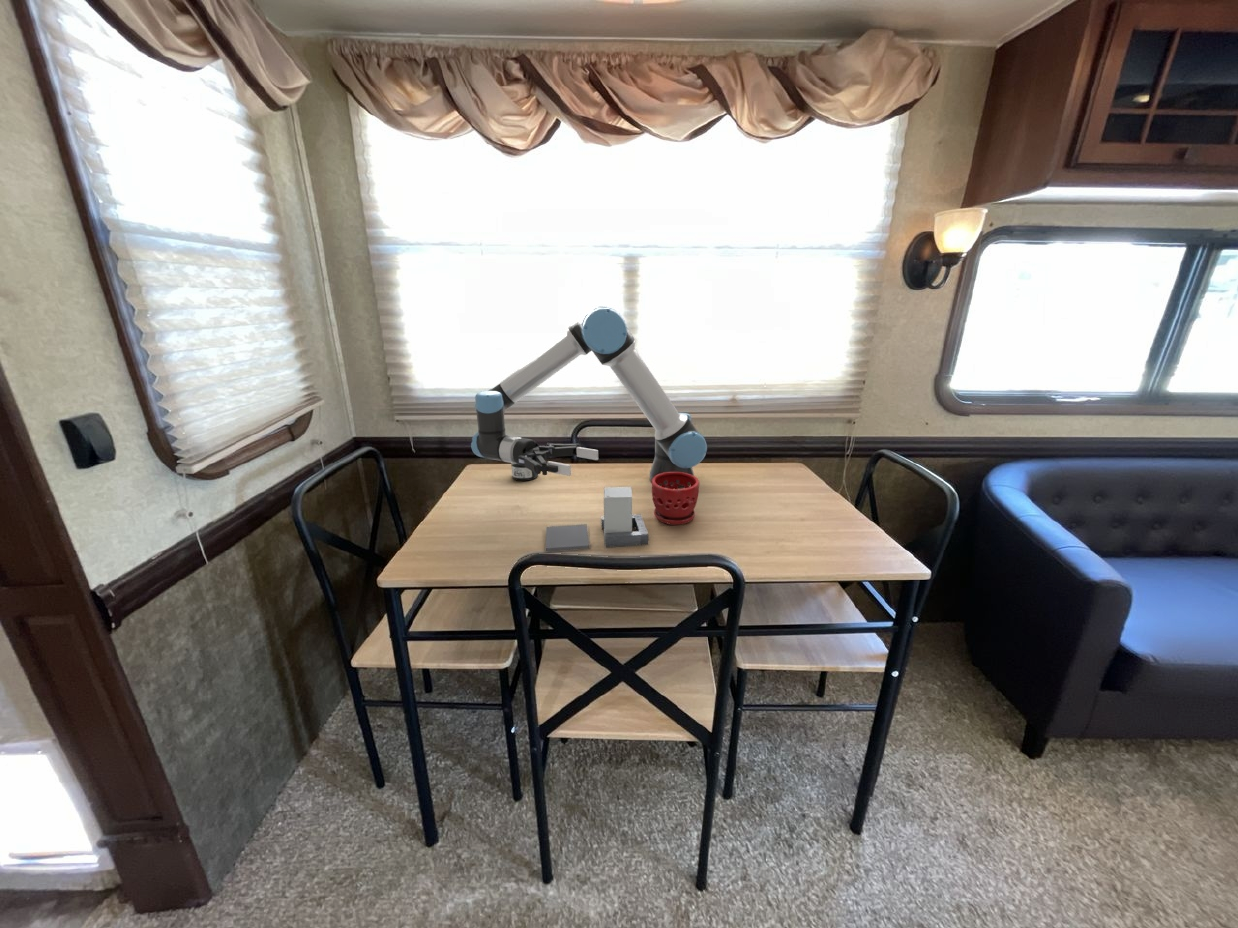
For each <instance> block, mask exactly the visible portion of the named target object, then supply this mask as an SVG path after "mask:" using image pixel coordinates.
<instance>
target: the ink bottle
mask: <svg viewBox="0 0 1238 928" xmlns="http://www.w3.org/2000/svg"><path fill="white" fill-rule="evenodd" d="M510 465H511V474H512V475H511V476H512V479H513V480H514V481H515V480H516V481H520V482H527V481H532V480H534V479H536V478H538V476H539V474H536V473H534V472H533V471H531V470H529V469H528V468H526V467H525V466H521V465H519V464H511V463H510Z"/></svg>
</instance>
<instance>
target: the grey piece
mask: <svg viewBox="0 0 1238 928" xmlns="http://www.w3.org/2000/svg"><path fill="white" fill-rule="evenodd" d="M600 517H601V518H600V521H601V522H600V524H601V527H600V528H601V530H603V531H604V515H603V516H602V515H601V516H600ZM633 528H634V529H635V531H632V532H619V533H605V541H604V546H605V548H606V549H607V548H620V547H622V548H624V547H634V546H636V547H637V546H649V532H648V530H647V526H646V524H645V522H644V518H643V516H642V514H641V513H636V514H635V513H634V514H632V529H633Z"/></svg>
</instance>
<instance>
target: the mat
mask: <svg viewBox="0 0 1238 928" xmlns="http://www.w3.org/2000/svg"><path fill="white" fill-rule="evenodd" d="M545 528H546V529H545V531H546V532H545V552H546V553H549V552H550V553H551V552H563V551H564V550H566V551H575V550H576V551H577V550H590V549H591V545H590V538H589V531H588V529H589V528H588V524H586V523H584V524H582V523H581V524H570V525H569V524H567V525H554V526H552V525H551V526H546V527H545Z"/></svg>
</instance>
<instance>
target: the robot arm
mask: <svg viewBox="0 0 1238 928" xmlns="http://www.w3.org/2000/svg"><path fill="white" fill-rule="evenodd" d="M635 344H636V338H635V337H634V336H633V334H632V333H631V331H630V330H629V329H628V326H627V324H626V321H625V319H624V317H623V316H622V315H621V313H620V312H619V311H617V310H615V309H614V308H612V307H607V306H602V305H598V306H596V305H595V306H592V307H590V308H589V309H586V310H585V311H584V312H583V314H581V315H580V317H579V318H577V319H576V320H575V321H574V322H573V323H572V324H571V325H570V326H568V327H567V328H566V329H565V333H564V334H563V335H562V336H560V337H559V338H558V339H556V340H554V342H552V343H551V344H550V345H548V346H547V347H546V348H544V349H543V350H542V351H541V352H539V353H538V354H537V355H535V356H534V357H533V358H531V359H530V360H528V361H527V362H526V363H525V364H523V365H522V366H520V368H519V367H518V369H517V370H515V371H514V372H513V373H511V374H510V375H508V376H507V377H506V378H505V379H503V380H502V381H501V382H499V383H498V384H497V385H495V386H494V387H492V388H490V389H488V390H485V391H480V392H477V393H476V394H475V395H474V396H475V397H474V399H475V401H474V402H475V405H474V408H475V412H476V420H477V428H478V429H477V430H478V432H475V434H474V435H473V436H472V437H471V438H472V439H471V440H472V441H471V443H470V446H471V450H472V453H473V454H474V455H476V456H477V457H480V458H484V459H485V460H495V461H499V462H505V463H508V464H509V463H510V465H511V464H519V465H521V466H525V467H526V468H528V469H529V470H531V471H533V472H534V473H536V474H538V475H540V474H541V473H542V475H543V476H546V475H548V473H552V474H557V475H563V476H567V477H570V476H572V469H571V468H572V467H571V465H572V464H567V463H562V462H556V461H549V460H554V459H556V458H557V457H558V458H559V457H560V458H561V457H571V456H576V458H582V459H588V460H593V461H598V460H599V450H598V449H593V448H587V447H582V445H581V443H551V442H547V443H545V444H546V446H545V445H538V443H537V441H535V440H534V439H530V438H524V437H519V436H513V435H507V434H506V425H505V423H506V422H505V413H506V411H507V410H509V408H511V407H513V405H515V404H516V403H517V402H518V401H520V400H521V399H523V398H524V397H526V395H528V394H529V393H531V392H532V391H533V390H534V389H536V388H537V387H539V386H540V385H542V384H543V383H544V382H545V381H547V380H549V378H551V377H552V376H554V375H555V374H556V373H558V372H559V371H560V370H562V369H563V368H565V367H566V366H567V365H568V364H570V363H571V362H572V361H574V360H576V359H577V358H578V357H580V356H582V355H583V356H586V355H588V354H589V353H590V352H593V354H594V355H595V358H597V360H598V361H599V363H600V364H601V365H603V366H608V367H610V369H611V370H612V371H613V373H614V374H615V376H616V378H618V380H619V381H620V382H621V384H622V385H623V387H624V388H625V389H626V391H627V393H628V394H629V396H630V397H631V398H632V399H633V401H634V402H635V404H636V405H637V406H638V408H639V409H640V410H641V412H642V413H643V415H644V416H645V418H646V419H647V420H648V421H649V423H650V424H651V426H652V428H653V429H654V459H653V462H652V465H651V469H650V470H649V481H650V482H651V483H652V479H653V478H654V477H655V476H656V475H658V474H661V473H665V472H684V473H688V474H691V475H693V476H695V473H694V469H693V467H695V466H697V465H699V464H700V463H701V462H702V461H703V460H704V458H705V457H706V453H707V451H708V445H707V442H706V439H705V437H704V436H703V434H701V433H700V432H699V430H697V428H696V427H695V426H694V424H693V423H692V416H691V414H689V413H685V412H679V411H678V409H677V408H676V407H675V405H674V404H673V402H672V401H671V400H670V398H669V397H668V394H666V392H665V391H664V389H663V388H662V386H661V385H660V383H659V382H658V380H657V379H656V378H655V376H654V375H653V373H652V372H651V370H650V368H649V367H648V366H647V365H646V363H645V362H644V360H643V359H642V357H641V356H640V353H638V351H637V350H636V349H635ZM546 460H548V461H546ZM676 482H677V483H679V480H676ZM666 484H667V481H664V485H666ZM658 485H659V486H661V484H658ZM670 485H673V483H670ZM688 485H689V486H690V485H691V484H690V483H689V482H688ZM681 487H684V486H683V485H679V486H678V488H681Z"/></svg>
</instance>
